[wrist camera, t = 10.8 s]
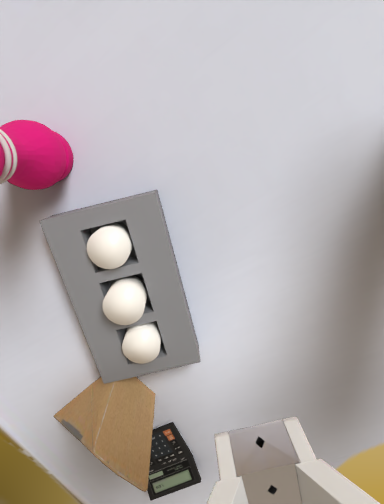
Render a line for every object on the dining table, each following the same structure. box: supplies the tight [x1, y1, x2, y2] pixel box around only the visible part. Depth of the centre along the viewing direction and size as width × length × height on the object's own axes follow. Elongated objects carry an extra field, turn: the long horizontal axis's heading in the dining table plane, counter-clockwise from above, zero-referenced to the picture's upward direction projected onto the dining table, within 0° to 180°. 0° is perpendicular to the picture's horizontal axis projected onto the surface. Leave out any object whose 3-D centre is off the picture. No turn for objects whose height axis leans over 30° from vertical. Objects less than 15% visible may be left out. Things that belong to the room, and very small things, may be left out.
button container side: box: [122, 321, 161, 364], centre depth 41 cm, size 5×5×4 cm
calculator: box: [147, 422, 201, 500], centre depth 51 cm, size 9×12×3 cm
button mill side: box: [87, 222, 134, 269], centre depth 37 cm, size 5×5×4 cm
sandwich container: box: [54, 377, 155, 492], centre depth 41 cm, size 9×15×15 cm, turn 131°
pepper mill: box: [0, 120, 73, 190], centre depth 27 cm, size 7×7×20 cm
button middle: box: [103, 275, 148, 325], centre depth 38 cm, size 5×5×4 cm
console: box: [39, 190, 200, 384], centre depth 40 cm, size 14×24×4 cm, turn 13°
